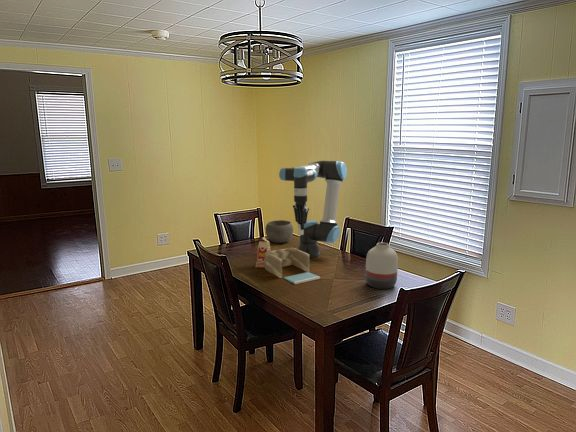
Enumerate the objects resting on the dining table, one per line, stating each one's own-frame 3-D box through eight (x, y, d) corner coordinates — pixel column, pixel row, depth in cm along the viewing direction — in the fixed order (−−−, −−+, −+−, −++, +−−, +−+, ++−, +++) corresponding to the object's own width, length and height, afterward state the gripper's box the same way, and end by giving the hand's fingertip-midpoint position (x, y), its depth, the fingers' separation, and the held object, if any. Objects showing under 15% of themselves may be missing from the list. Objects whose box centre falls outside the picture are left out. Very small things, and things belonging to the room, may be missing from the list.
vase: (390, 293, 224) (392, 250, 219) (360, 287, 233) (362, 245, 228) (400, 283, 238) (402, 242, 233) (371, 278, 247) (373, 238, 242)
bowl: (263, 244, 316) (262, 224, 313) (268, 237, 337) (268, 219, 334) (290, 246, 313) (290, 226, 310) (295, 238, 333) (295, 220, 330)
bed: (293, 265, 269) (293, 247, 266) (309, 273, 254) (309, 254, 251) (265, 271, 258) (265, 252, 256) (280, 280, 243) (280, 259, 241)
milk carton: (269, 270, 260) (269, 238, 256) (254, 269, 262) (254, 237, 258) (272, 265, 269) (272, 234, 265) (258, 264, 271) (258, 233, 267)
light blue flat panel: (308, 271, 252) (320, 276, 242) (308, 273, 253) (320, 278, 242) (282, 276, 243) (294, 282, 232) (282, 279, 243) (294, 284, 233)
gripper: (288, 193, 247) (289, 233, 253) (301, 197, 236) (302, 238, 242) (299, 192, 251) (299, 231, 257) (312, 195, 240) (312, 236, 246)
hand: (301, 234), depth 249 cm, fingers closed
